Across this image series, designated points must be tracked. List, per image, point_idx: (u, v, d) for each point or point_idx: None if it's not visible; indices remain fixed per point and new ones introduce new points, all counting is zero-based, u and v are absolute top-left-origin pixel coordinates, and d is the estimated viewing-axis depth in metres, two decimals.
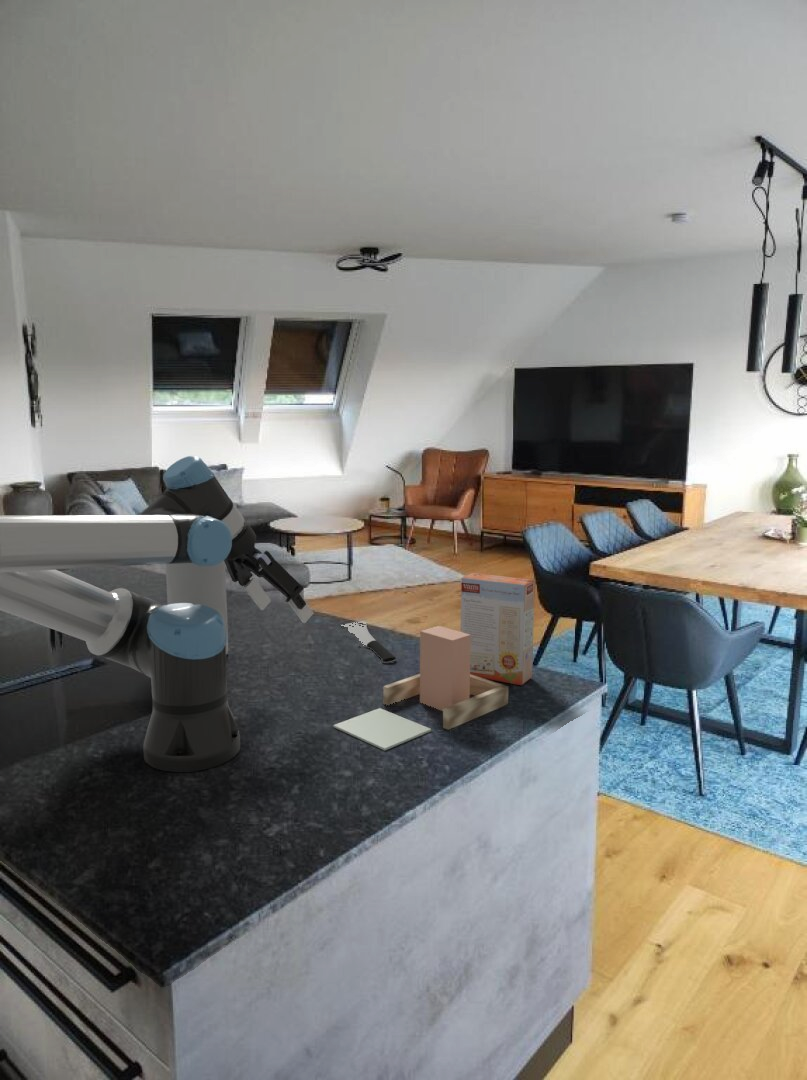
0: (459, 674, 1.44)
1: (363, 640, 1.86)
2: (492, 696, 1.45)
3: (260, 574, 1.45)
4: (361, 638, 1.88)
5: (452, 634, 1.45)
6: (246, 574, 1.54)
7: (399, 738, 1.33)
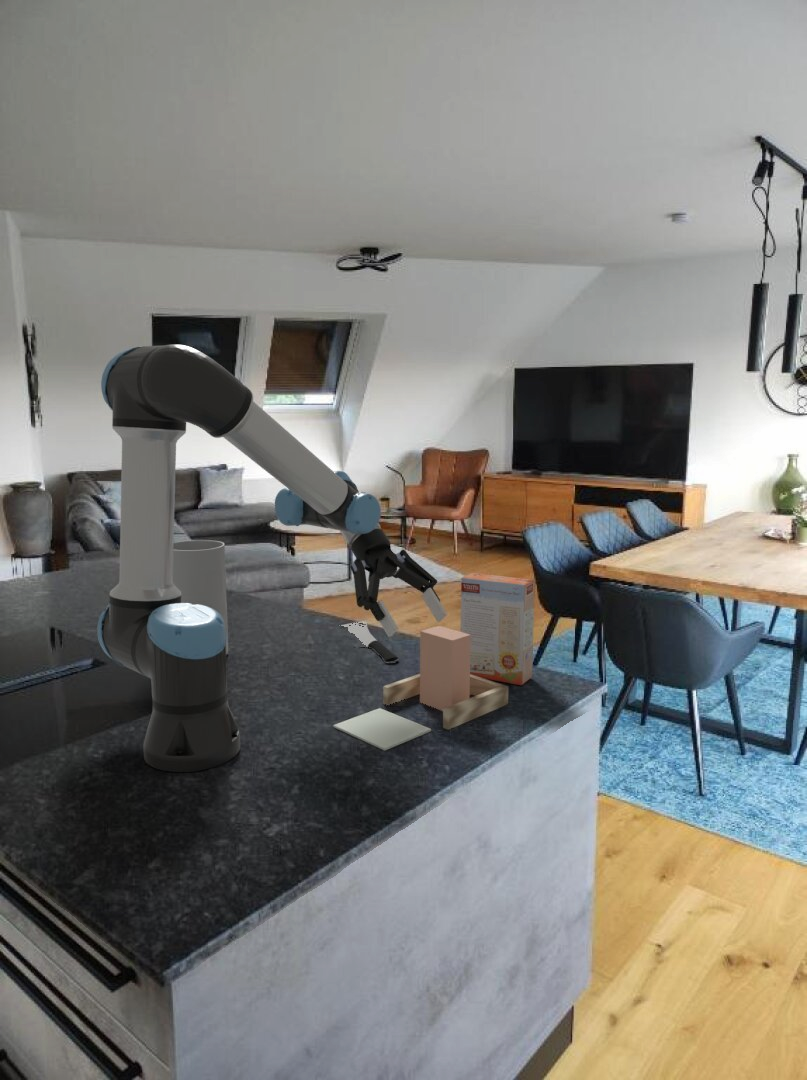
0: (459, 674, 1.44)
1: (364, 640, 1.86)
2: (492, 696, 1.45)
3: (404, 565, 1.59)
4: (362, 638, 1.88)
5: (452, 634, 1.45)
6: None
7: (399, 738, 1.33)
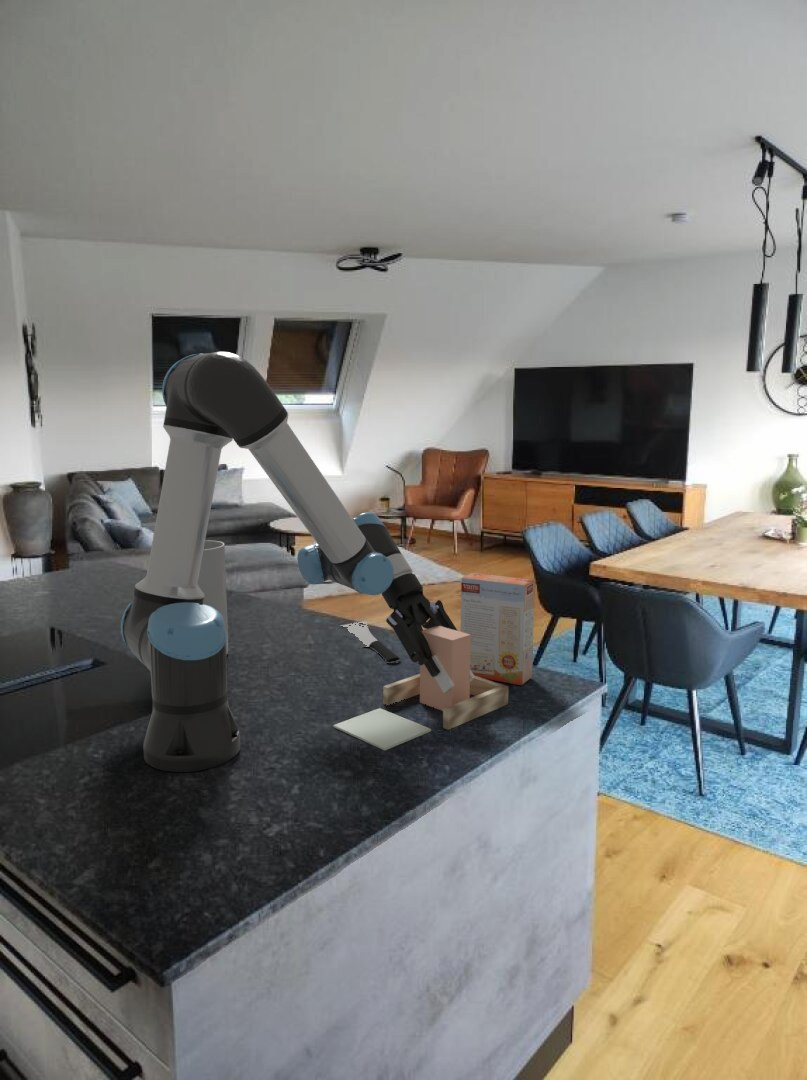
0: (459, 673, 1.44)
1: (365, 640, 1.86)
2: (492, 696, 1.45)
3: (435, 617, 1.51)
4: (363, 638, 1.88)
5: (452, 634, 1.45)
6: None
7: (399, 738, 1.33)
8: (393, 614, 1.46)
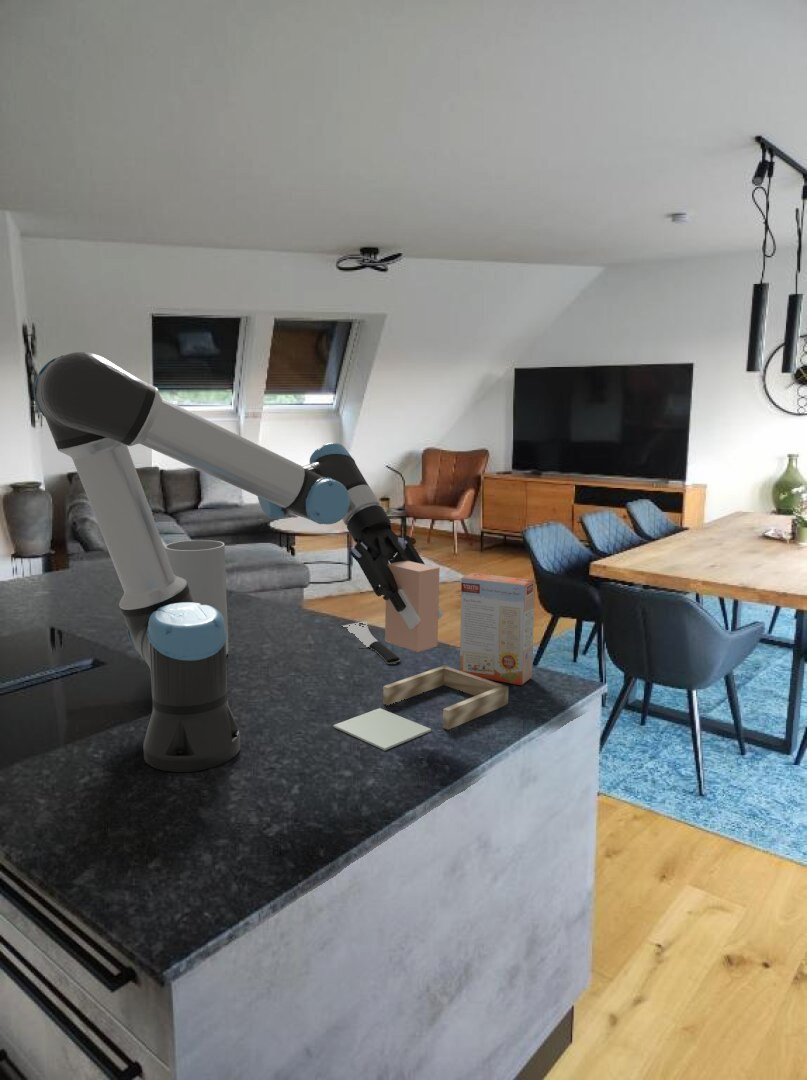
0: (426, 609, 1.35)
1: (365, 641, 1.86)
2: (492, 696, 1.45)
3: None
4: (363, 639, 1.87)
5: (420, 567, 1.36)
6: None
7: (399, 738, 1.33)
8: (357, 545, 1.37)
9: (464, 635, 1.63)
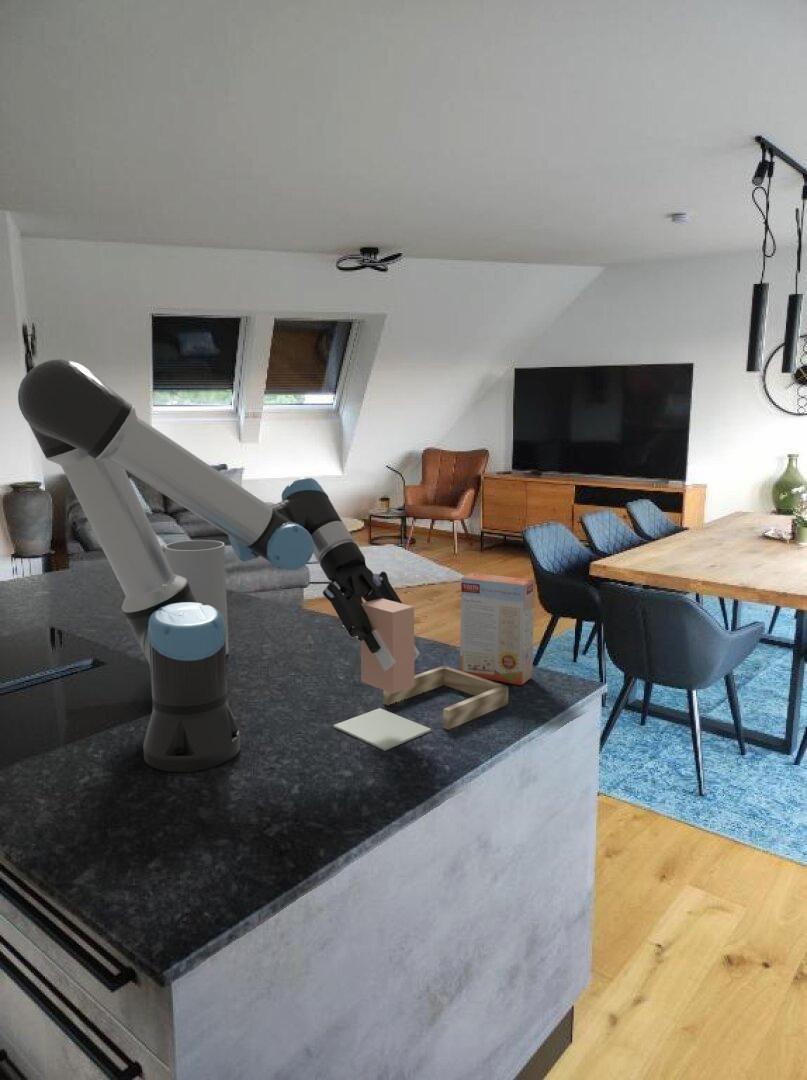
0: (401, 649, 1.32)
1: None
2: (492, 696, 1.45)
3: (378, 589, 1.39)
4: None
5: (394, 606, 1.33)
6: None
7: (399, 738, 1.33)
8: (330, 585, 1.34)
9: (464, 635, 1.63)
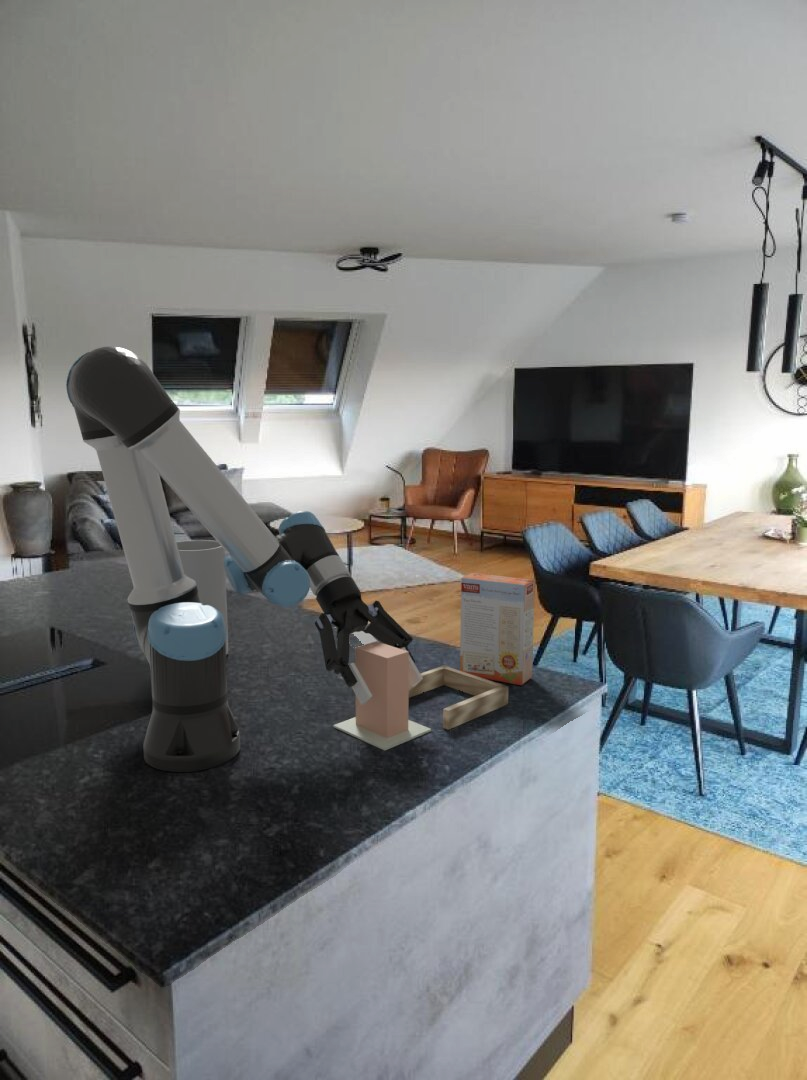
0: (395, 694, 1.33)
1: (366, 641, 1.85)
2: (492, 696, 1.45)
3: None
4: (363, 639, 1.87)
5: (389, 651, 1.34)
6: None
7: (399, 738, 1.33)
8: (321, 615, 1.35)
9: (464, 635, 1.63)
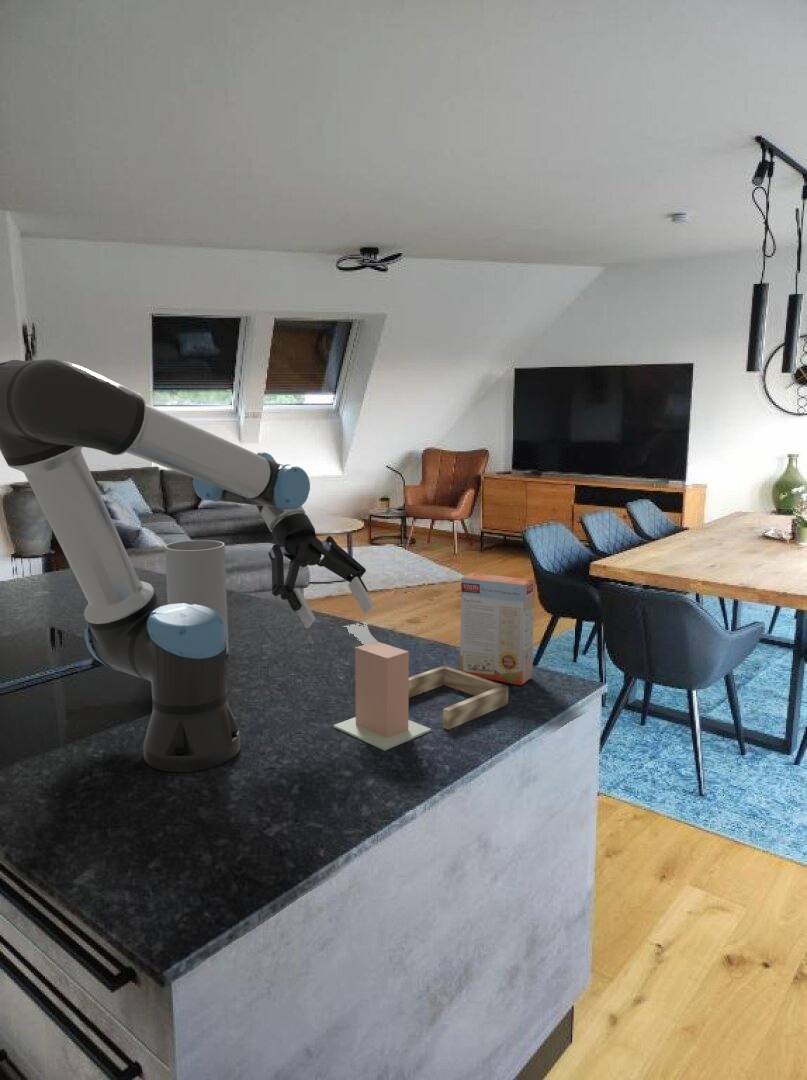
0: (395, 694, 1.33)
1: (366, 642, 1.85)
2: (492, 696, 1.45)
3: (329, 553, 1.48)
4: (363, 640, 1.87)
5: (389, 651, 1.34)
6: None
7: (399, 738, 1.33)
8: (274, 546, 1.43)
9: (464, 635, 1.63)
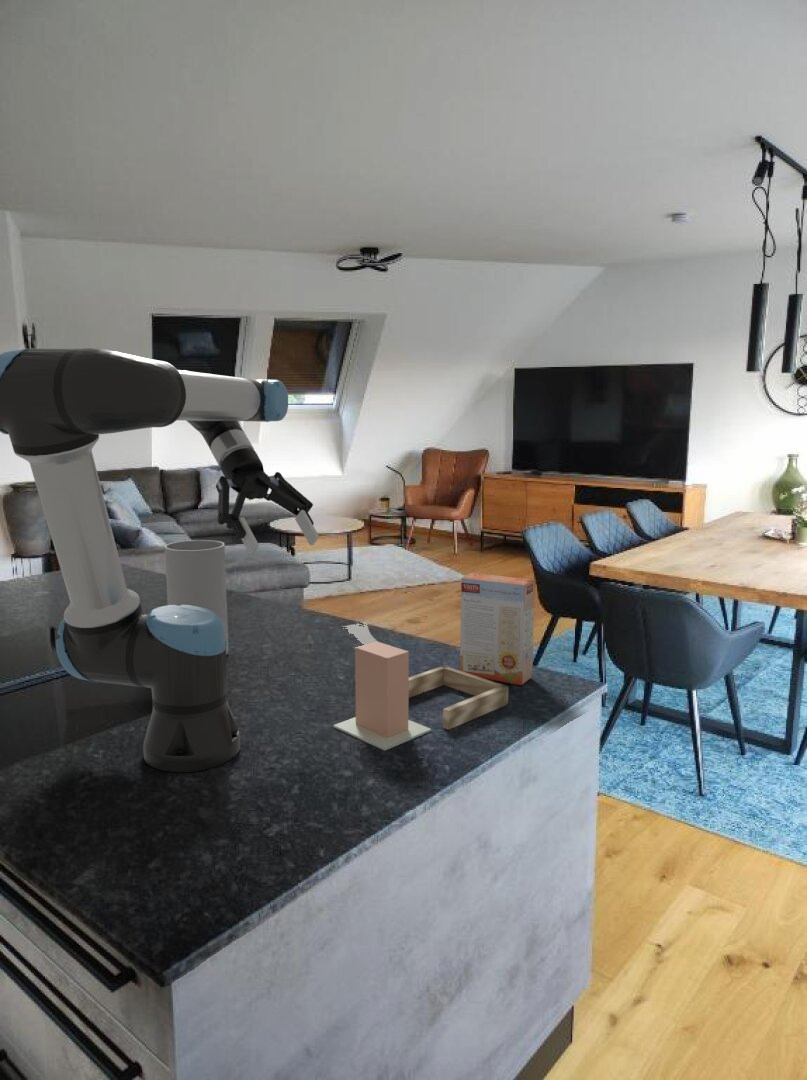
0: (395, 694, 1.33)
1: (366, 642, 1.85)
2: (492, 696, 1.45)
3: (276, 487, 1.53)
4: (363, 640, 1.86)
5: (389, 651, 1.34)
6: None
7: (399, 738, 1.33)
8: (221, 477, 1.47)
9: (464, 635, 1.63)
